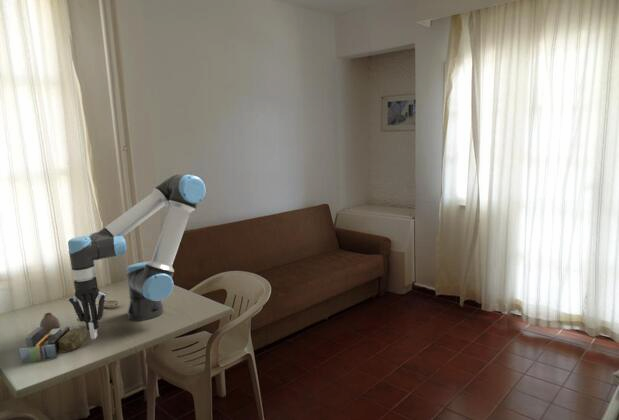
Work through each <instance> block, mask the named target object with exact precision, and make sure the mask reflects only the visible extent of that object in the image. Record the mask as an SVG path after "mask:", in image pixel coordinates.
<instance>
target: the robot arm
mask: <svg viewBox="0 0 619 420" xmlns="http://www.w3.org/2000/svg"><path fill="white" fill-rule="evenodd" d="M206 194H207V190H206V185H205V183H204V181H203V180H202V178H200V177H199V176H198V175H197V176H196V175H193V174H174V175H172V176H170V177H168V178H166V179H165V180H164V181H162V182H161V183H159V185H157V186H155V187H154V188H153V190H152V193H150V194H149V195H147V196H146V197H144V198H143V199H141V200H140V201H139V202H138V203H136V204H134V205H133V206H132V207H131V208H130V209H128V210H126V212H124V213H122V214H121V215H120V216H119V217H117V218H116V219H114V220H113V221H111V222H110V223H109V224H108V225H106V226H105V227H103V228H102V229H100V230H99V231H96V232H93V233H91V234H89V235H88V236H76V237H73V238H70V239H69V240H68V242H67V244H68V245H67V246H68V255H69V261H70V266H71V274H72V278H73V279H72V280H73V284H74V290H75V292H74V295H73V296H71V297H70V298H69V299H68V301H69V303H70V304H71V305H72V307H73V309H74V312H75V313H76V315H77V318H78V320H79V322H81V323H85V327H86V331H89V336H90V339H91V340H95V339H97V337H98V329H99V327H100V326H99V321H100V320H101V319H102V318H103V315H104V307H105V299H106V298H107V293H106V292H104V293H102V292H101V291H100V289H99V287H98V280H97V277H96V268H95V261H98V260H103V259H108V258H113V257H118V256H121V255H124V254H126V252H127V243H126V242H127V241H126V240H125V238H124V236H126V235H127V234H129V233H130V232H131V231H132V230H134V229H135V228H137V227H138V226H139V225H141V224H143V223H144V222H145V221H146V220H147V219H148V218H150V217H151V216H152V215H154V214H155V213H157V212H158V211H159V210H161V209H162V208H163V207H170V208H169V209H168V213H167V215H166V218H165V220H164V224H163V227H162V230H161V233H160V235H159V238H158V241H157V243H156V246H155V249H154V252H153V254H152V258H151V260H148V261H143V262H137V263H134V264H130V265H128V266H127V267H126V273H125V275H126V279H127V287H128V294H129V303H128V309H127V318H128V320H131V321H146V320H150V319H154V318H157V317H159V316H160V315H162V314H163V313H164V312H165V307H164V303H163V302H162V301H163V300H165V299H166V298H168V297H169V296H170V295H171V293H172V292H173V290H174V287H175V286H174V285H175V284H174V283H175V282H174V280H173V275H174V273H175V269H174V268H173V264H174V261H175V259H176V256H177V253H178V251H179V247H180V243H181V241H182V238H183V235H184V233H185V229H186V226H187V223H188V221H189V218H190V214H191V213H192V212H193V211H195V210H196V209H197V207H198V203H200V202H201V201H203V200H204V198H205V196H206ZM97 298H98V306H97V303H96V302H97V300H96V299H97ZM79 301H80V302H79ZM80 303H81V305H80ZM81 306H82V307H81Z"/></svg>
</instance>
